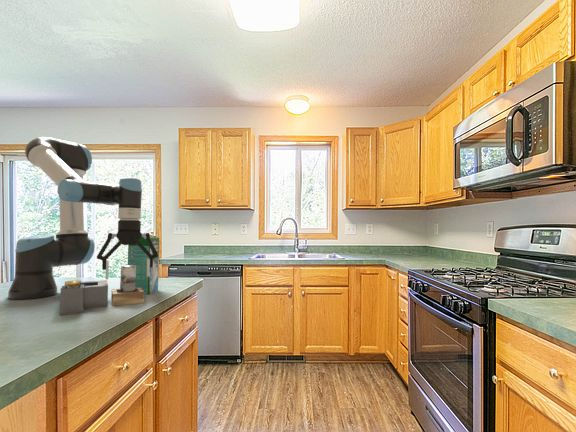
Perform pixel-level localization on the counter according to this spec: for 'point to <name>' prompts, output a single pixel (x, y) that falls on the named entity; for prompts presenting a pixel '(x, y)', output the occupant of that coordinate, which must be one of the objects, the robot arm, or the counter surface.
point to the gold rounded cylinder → (72, 284)
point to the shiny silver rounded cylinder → (128, 278)
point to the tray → (127, 297)
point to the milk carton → (145, 265)
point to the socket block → (83, 297)
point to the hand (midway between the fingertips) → (128, 277)
